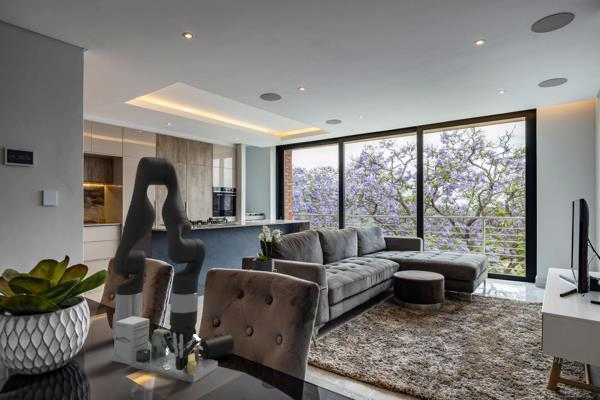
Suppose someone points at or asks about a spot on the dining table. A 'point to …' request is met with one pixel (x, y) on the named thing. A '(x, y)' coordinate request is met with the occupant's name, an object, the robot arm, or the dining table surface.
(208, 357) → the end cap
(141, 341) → the supplement box
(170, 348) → the robot arm
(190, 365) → the level knob
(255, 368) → the dining table surface
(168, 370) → the grey flat block
